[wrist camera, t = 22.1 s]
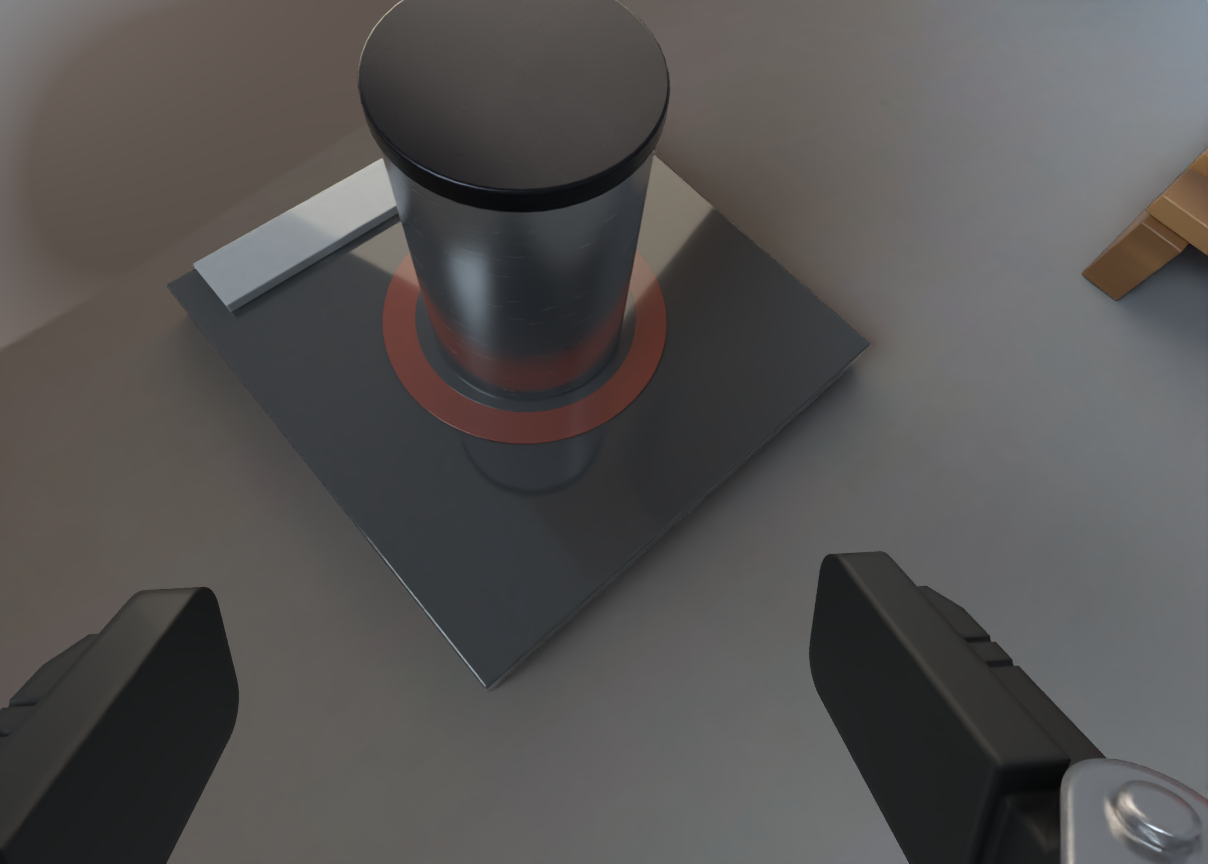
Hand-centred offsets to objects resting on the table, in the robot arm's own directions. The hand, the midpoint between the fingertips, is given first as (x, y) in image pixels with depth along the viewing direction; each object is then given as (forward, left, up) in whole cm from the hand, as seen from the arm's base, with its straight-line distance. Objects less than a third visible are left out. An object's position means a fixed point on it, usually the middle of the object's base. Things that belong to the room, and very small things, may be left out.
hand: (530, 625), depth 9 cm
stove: (-7, -9, -11) cm, 15 cm away
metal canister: (-7, -9, -9) cm, 14 cm away
